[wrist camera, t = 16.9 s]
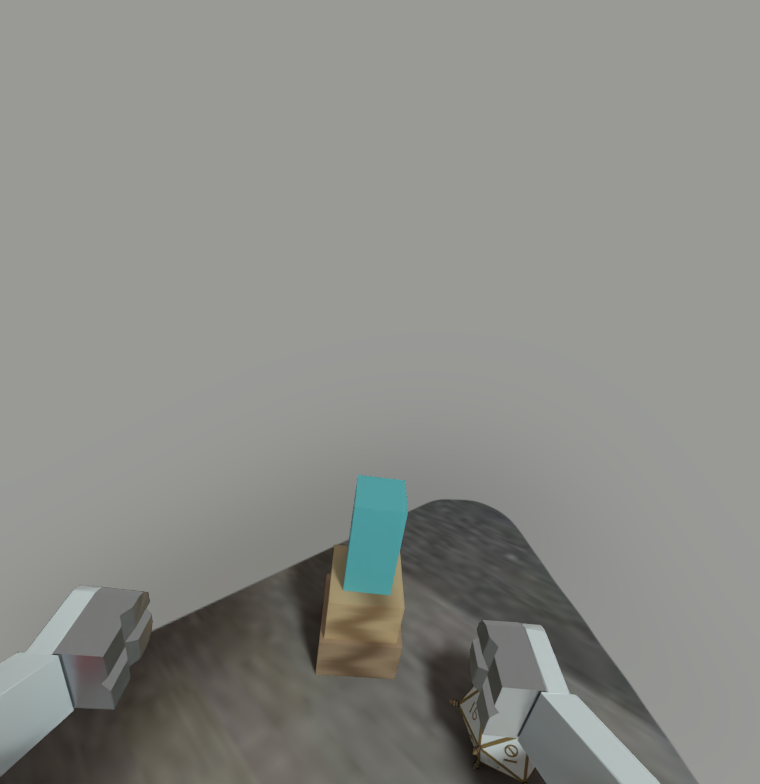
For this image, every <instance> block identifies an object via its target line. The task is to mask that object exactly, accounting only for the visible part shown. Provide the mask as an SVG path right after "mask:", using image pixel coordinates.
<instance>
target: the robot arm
mask: <svg viewBox="0 0 760 784" xmlns="http://www.w3.org/2000/svg"><path fill="white" fill-rule="evenodd" d="M149 602H150V599H149V594H148V592H143V591H134V590H125V589H116V588H107V587H98V586H87V585H80V586H78V587H77V588H76V589H74V590H73V591H72V592H71V593H70V594H69V596H68V597H67V599H66V600H65V601H64V602H63V604H62V605H61V606H60V607H59V609H58V610H57V611H56V613H55V614H54V615H53V617H52V618H51V619H50V620H49V622H48V623H47V624H46V626H45V627H44V628H43V629H42V631H41V632H40V633H39V635H38V636H37V637H36V639H35V640H34V641H33V642H32V644H31V645H30V646H29V648H28V649H27V650H26V652H17V653H15V654H14V655H12V656H11V657H9V658H8V659H6V660H4V661H3V662H1V663H0V777H1V776H2V775H3V774H4V773H5V772H6V771H7V770H8V769H9V768H11V767H12V766H13V765H14V764H15V763H16V762H17V761H18V760H19V759H21V758H22V757H23V756H24V755H25V754H26V753H27V752H28V751H29V750H31V749H32V748H33V747H34V746H35V745H36V744H37V743H38V742H39V741H41V740H42V739H43V738H44V737H45V736H46V735H47V734H48V733H49V732H51V731H52V730H53V729H54V728H55V727H56V726H57V725H58V724H59V723H61V722H62V721H63V720H64V719H65V718H66V717H67V716H68V715H69V714H70V713H72V712H73V711H74V708H92V709H115V708H116V706H117V704H118V702H119V700H120V698H121V696H122V694H123V692H124V690H125V688H126V686H127V684H128V682H129V680H130V678H131V676H130V670H129V667H130V666H131V665H132V664H134V663H135V662H136V661H138V660H139V659H140V658H141V657H142V655H143V653H144V651H145V648H146V646H147V644H148V641H149V638H150V634H151V631H152V614H151V613H150V612H149V611H147V610H146V608H147V606H148V604H149ZM477 633H478V638H477V639H475V640H474V641H473V642H472V645H471V649H470V658H469V665H470V674H471V680H472V684H473V685H474V686H475V687H476V689H477V690H478V691H479V693H480V694H479V697H478V699H477V702H476V705H477V710H478V715H479V720H480V725H481V730H482V735H491V736H501V737H510V738H518V742H519V743H520V745H521V746H522V748H523V749H524V751H525V752H526V754H527V755H528V757H529V758H530V760H531V761H532V763H533V764H534V766H535V767H536V769H537V770H538V772H539V773H540V775H541V776H542V778H543V779H544V781H545V782H546V784H660V783H659V782H658V780H657V779H656V778H655V777H654V776H653V775H652V774H651V773H650V772H649V771H648V770H647V769H646V768H645V767H644V766H643V765H642V764H641V763H640V762H639V760H638V759H637V758H636V757H635V756H634V755H633V754H632V753H631V752H630V751H629V750H628V749H627V748H626V747H625V746H624V745H623V744H622V743H621V742H620V740H619V739H618V738H617V737H616V736H615V735H614V734H613V733H612V732H611V731H610V730H609V729H608V728H607V727H606V726H605V725H604V724H603V723H602V722H601V721H600V719H599V718H598V717H597V716H596V715H595V714H594V713H593V712H592V711H591V710H590V709H589V708H588V707H587V706H586V705H585V704H584V703H583V702H582V701H581V699H580V698H579V697H578V696H577V695H575V694H570V693H569V690H568V688H567V685H566V683H565V680H564V678H563V675H562V673H561V670H560V668H559V665H558V663H557V660H556V658H555V655H554V652H553V650H552V647H551V645H550V642H549V640H548V637H547V635H546V632H545V630H544V628H543V627H542V626H541V625H535V624H520V623H517V622H502V621H488V620H482V621H481V622H479V625H478V628H477Z"/></svg>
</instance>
